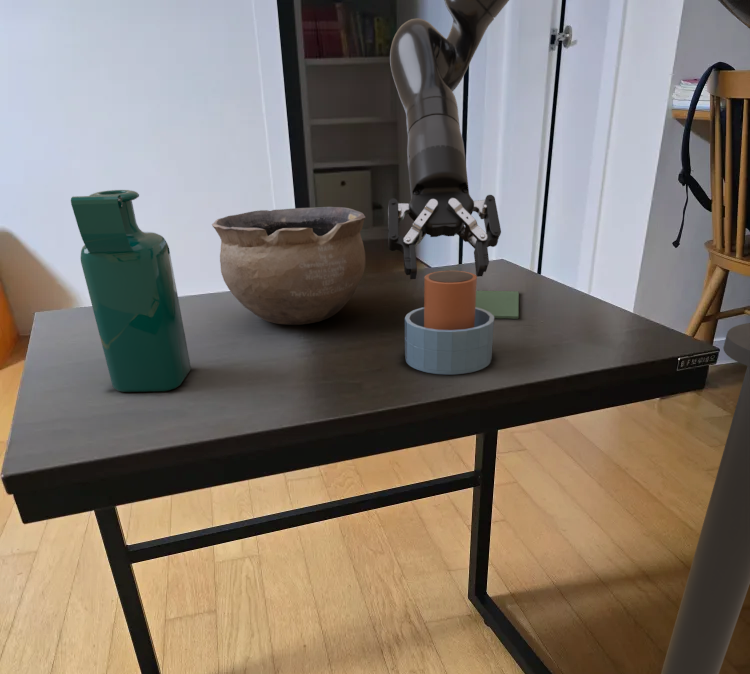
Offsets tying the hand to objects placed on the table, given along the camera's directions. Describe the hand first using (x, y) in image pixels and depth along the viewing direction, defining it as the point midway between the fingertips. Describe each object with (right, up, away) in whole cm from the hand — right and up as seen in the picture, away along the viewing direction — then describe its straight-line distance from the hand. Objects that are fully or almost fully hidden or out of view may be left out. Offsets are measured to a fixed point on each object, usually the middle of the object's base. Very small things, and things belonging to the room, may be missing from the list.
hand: (447, 274), depth 84 cm
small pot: (0, -10, +3) cm, 10 cm away
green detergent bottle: (-37, -14, -1) cm, 40 cm away
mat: (+7, +3, +24) cm, 25 cm away
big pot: (0, -10, +3) cm, 10 cm away
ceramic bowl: (-21, 0, +21) cm, 30 cm away
